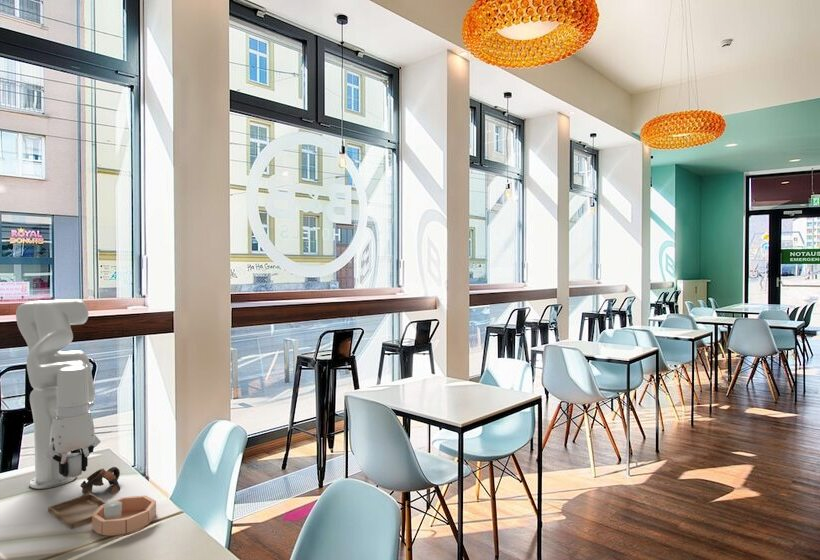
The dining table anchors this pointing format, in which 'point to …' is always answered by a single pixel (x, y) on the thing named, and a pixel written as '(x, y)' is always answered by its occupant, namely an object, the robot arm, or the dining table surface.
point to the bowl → (126, 516)
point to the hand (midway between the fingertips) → (73, 472)
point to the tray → (77, 510)
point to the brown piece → (97, 480)
